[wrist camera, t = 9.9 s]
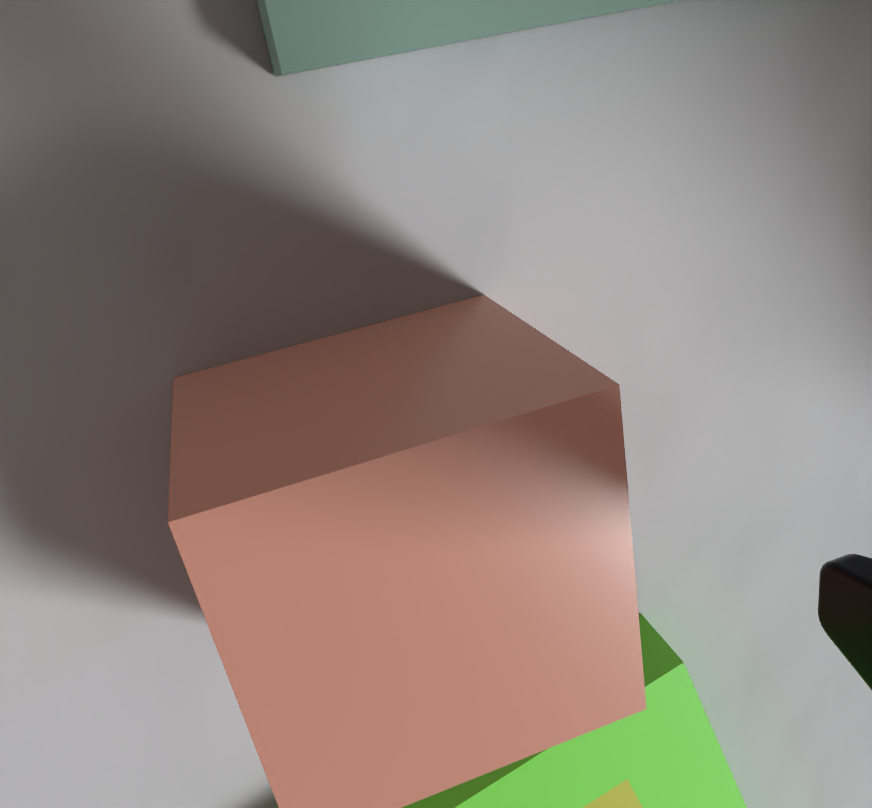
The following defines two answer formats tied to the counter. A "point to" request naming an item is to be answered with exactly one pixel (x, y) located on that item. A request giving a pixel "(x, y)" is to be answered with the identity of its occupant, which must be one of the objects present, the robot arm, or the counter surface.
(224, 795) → the counter surface
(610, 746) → the green block puzzle board
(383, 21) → the base plate
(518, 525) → the salmon pink brick
